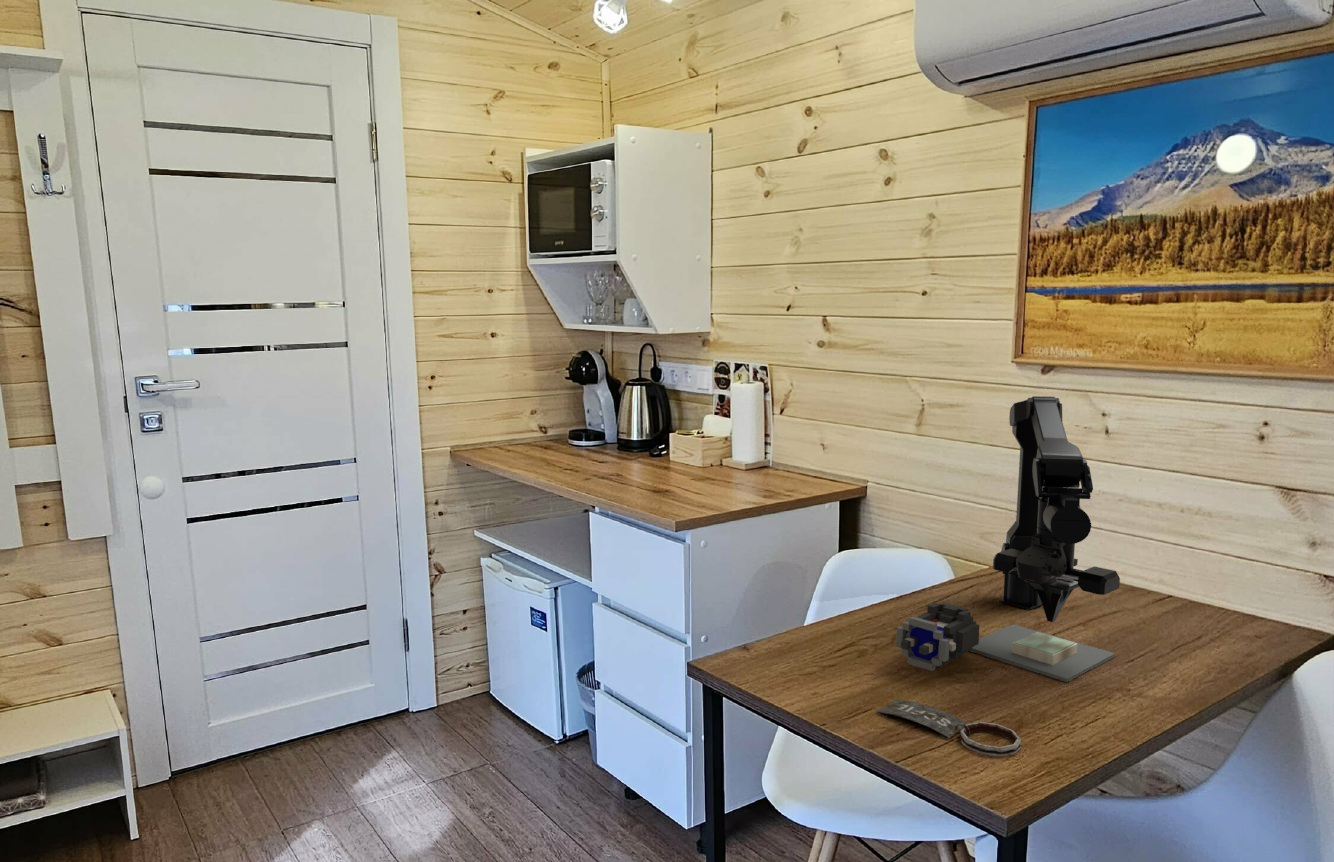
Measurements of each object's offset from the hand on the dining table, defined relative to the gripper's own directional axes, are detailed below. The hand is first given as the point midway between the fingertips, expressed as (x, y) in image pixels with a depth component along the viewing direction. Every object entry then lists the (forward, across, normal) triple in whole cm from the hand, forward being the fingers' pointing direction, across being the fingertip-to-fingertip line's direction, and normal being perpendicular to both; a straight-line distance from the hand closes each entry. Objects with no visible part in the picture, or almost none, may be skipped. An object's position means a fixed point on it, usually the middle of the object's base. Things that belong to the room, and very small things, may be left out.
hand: (1051, 621), depth 145 cm
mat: (+6, -2, 0) cm, 6 cm away
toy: (+6, -10, -17) cm, 21 cm away
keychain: (+7, +4, -35) cm, 36 cm away
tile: (+5, -4, -1) cm, 6 cm away
